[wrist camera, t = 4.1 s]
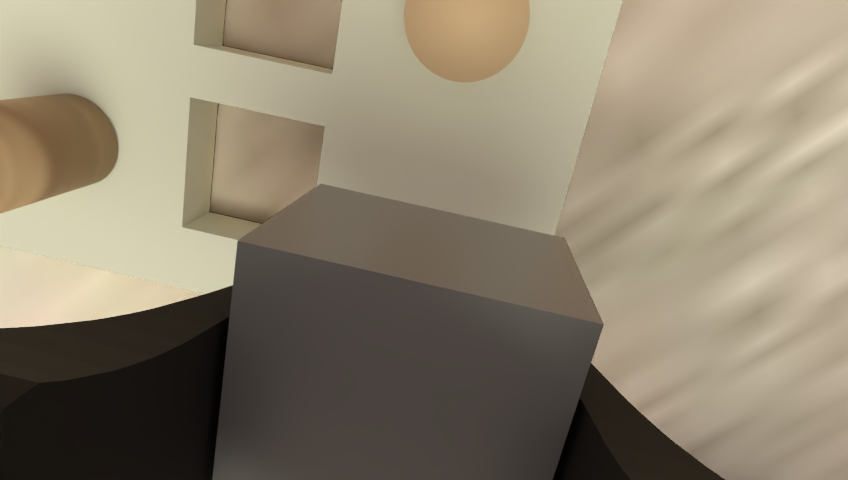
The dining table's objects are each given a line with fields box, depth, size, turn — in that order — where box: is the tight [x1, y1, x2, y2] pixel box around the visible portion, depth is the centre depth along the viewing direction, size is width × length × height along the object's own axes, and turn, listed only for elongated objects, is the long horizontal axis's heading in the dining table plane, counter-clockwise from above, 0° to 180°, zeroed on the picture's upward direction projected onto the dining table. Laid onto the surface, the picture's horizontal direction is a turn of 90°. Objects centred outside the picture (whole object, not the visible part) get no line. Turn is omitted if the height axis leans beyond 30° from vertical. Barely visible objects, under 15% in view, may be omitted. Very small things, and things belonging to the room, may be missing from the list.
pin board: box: [0, 0, 623, 294], centre depth 17 cm, size 20×15×5 cm
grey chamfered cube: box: [212, 184, 603, 480], centre depth 11 cm, size 5×5×4 cm
